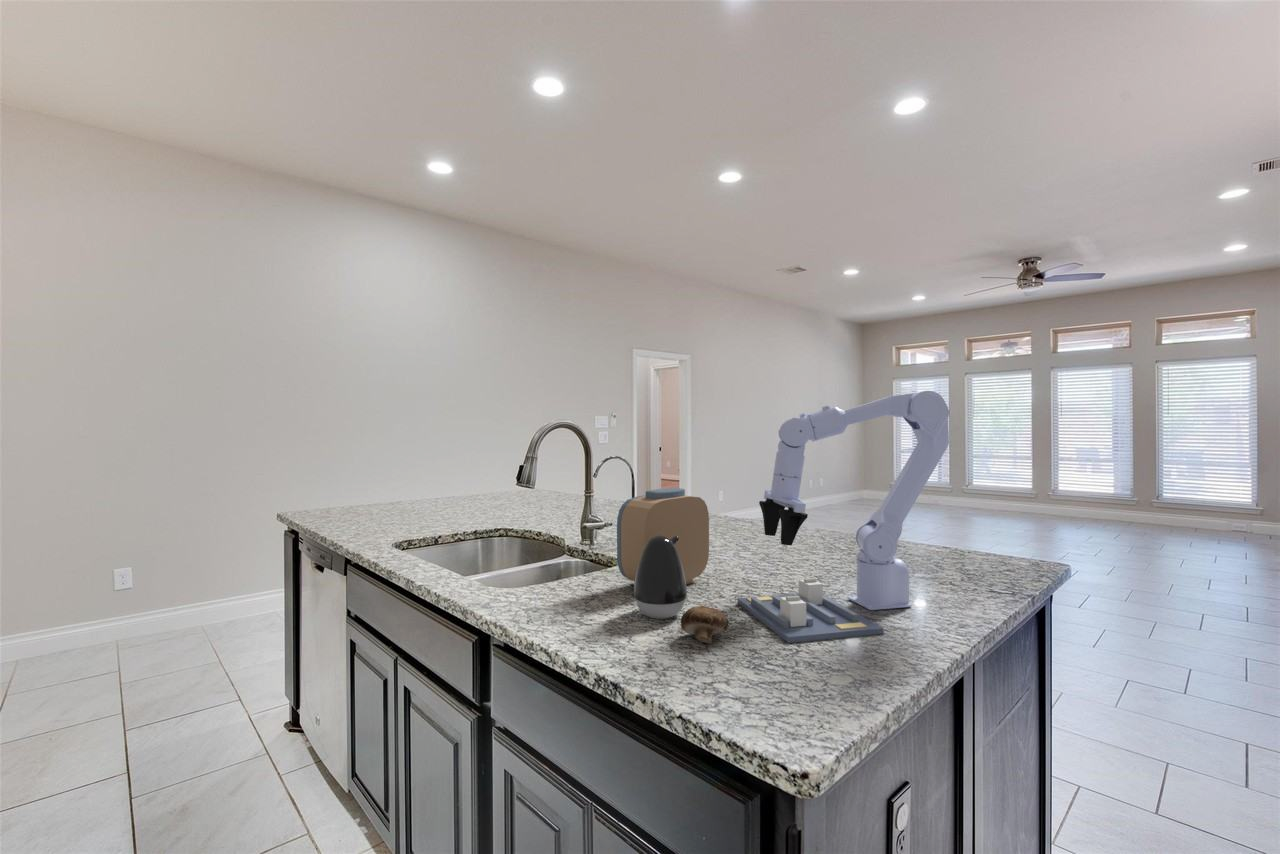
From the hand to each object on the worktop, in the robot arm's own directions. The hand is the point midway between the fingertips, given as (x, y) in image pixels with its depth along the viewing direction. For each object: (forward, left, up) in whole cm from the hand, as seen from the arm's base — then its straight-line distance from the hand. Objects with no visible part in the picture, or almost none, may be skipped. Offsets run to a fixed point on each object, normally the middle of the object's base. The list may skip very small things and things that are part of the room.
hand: (777, 539), depth 121 cm
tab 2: (-4, +7, -11) cm, 14 cm away
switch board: (0, +12, -12) cm, 17 cm away
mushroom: (+22, +18, -13) cm, 31 cm away
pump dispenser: (+26, +4, -13) cm, 30 cm away
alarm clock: (+20, -16, -13) cm, 29 cm away
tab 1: (+5, +17, -11) cm, 21 cm away
